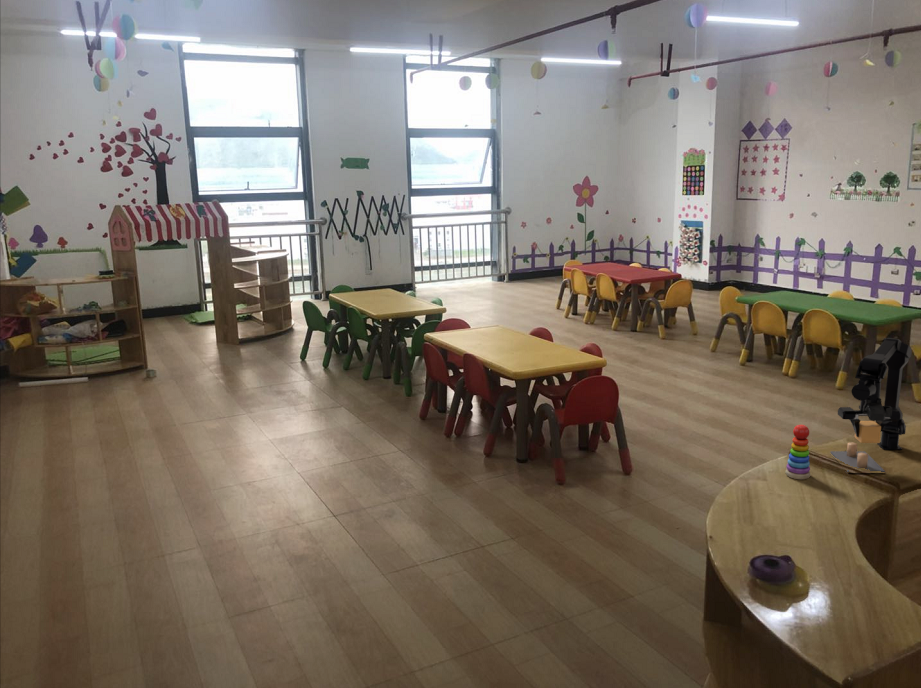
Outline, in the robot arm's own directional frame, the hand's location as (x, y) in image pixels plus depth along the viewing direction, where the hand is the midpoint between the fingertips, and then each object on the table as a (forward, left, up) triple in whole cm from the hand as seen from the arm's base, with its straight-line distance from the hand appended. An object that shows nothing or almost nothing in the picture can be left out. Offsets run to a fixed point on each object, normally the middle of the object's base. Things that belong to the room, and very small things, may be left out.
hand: (867, 436), depth 257 cm
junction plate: (-4, -1, -12) cm, 13 cm away
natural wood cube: (0, 0, -1) cm, 1 cm away
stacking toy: (+7, -24, -12) cm, 28 cm away
